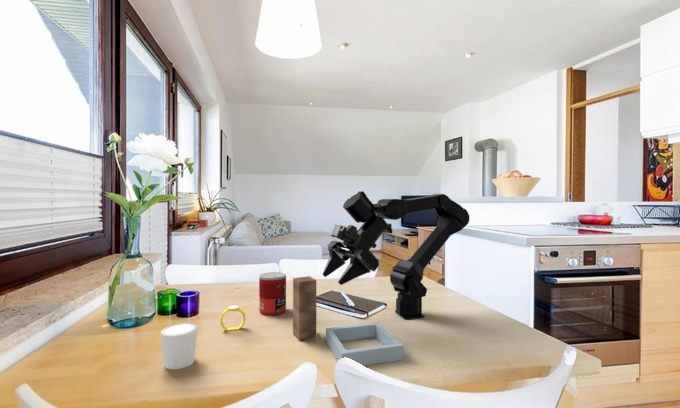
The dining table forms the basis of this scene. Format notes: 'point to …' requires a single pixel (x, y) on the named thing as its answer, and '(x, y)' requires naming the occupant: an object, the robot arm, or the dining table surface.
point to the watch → (232, 308)
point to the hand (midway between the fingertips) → (331, 279)
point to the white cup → (179, 345)
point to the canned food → (272, 293)
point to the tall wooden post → (304, 308)
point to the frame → (369, 355)
